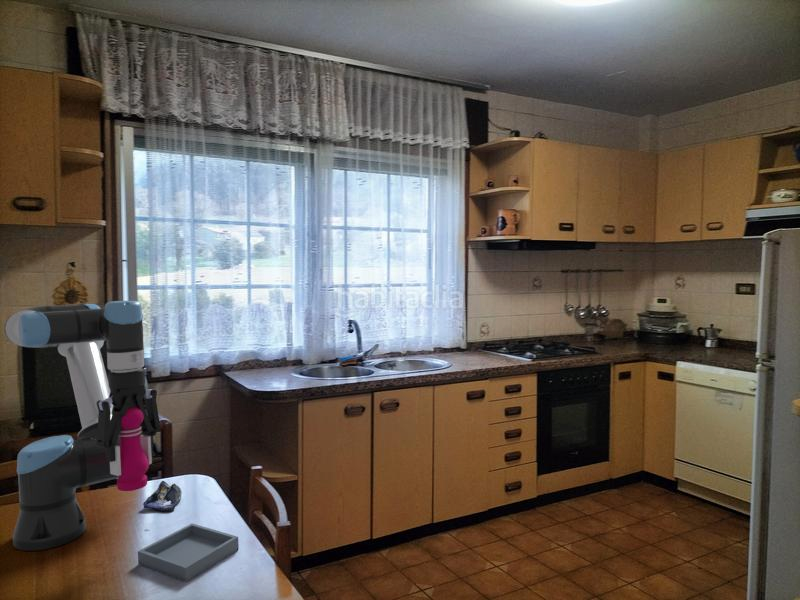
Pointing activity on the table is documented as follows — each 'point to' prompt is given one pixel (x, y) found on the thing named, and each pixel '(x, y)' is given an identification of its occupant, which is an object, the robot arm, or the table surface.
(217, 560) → the tray
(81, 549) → the table surface
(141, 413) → the pepper mill
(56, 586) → the table surface
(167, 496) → the snack package
